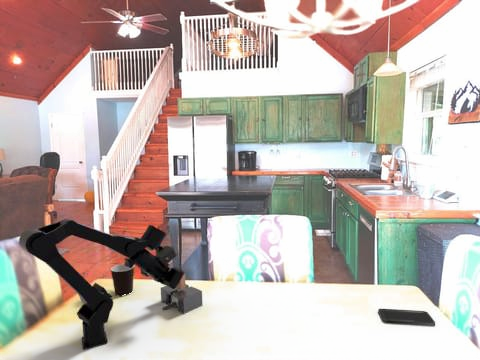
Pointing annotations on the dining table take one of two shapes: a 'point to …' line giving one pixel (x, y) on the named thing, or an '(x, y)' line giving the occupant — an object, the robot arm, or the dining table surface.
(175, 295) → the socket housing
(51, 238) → the robot arm
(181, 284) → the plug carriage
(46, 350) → the dining table surface
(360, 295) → the dining table surface
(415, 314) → the phone
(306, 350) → the dining table surface
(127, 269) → the coffee mug
